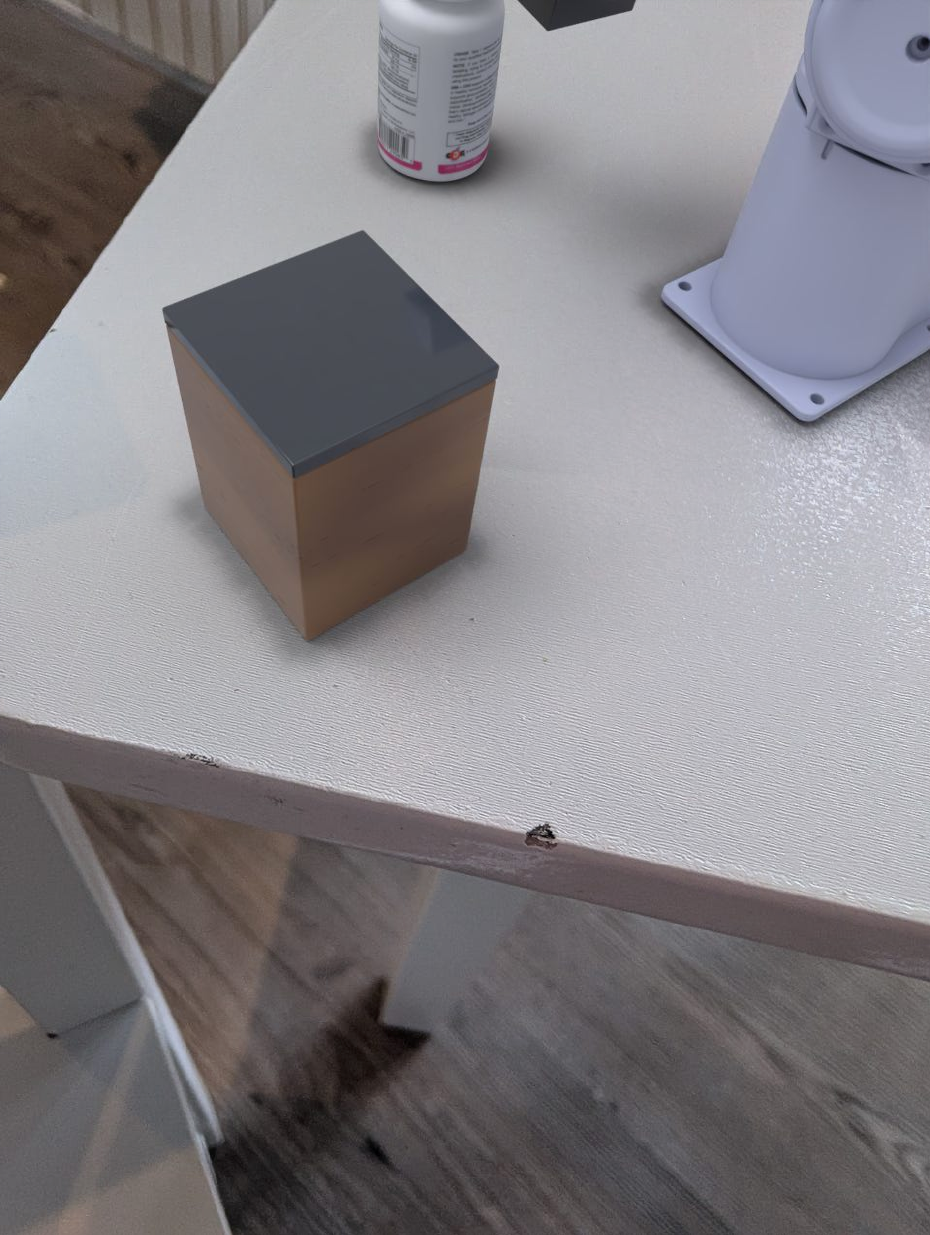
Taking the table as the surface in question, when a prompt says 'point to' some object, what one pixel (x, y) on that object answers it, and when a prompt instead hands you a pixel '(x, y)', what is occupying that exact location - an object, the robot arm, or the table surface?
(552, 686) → the table surface
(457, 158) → the pill bottle
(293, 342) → the tile
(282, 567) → the stand
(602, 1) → the rubber stamp
